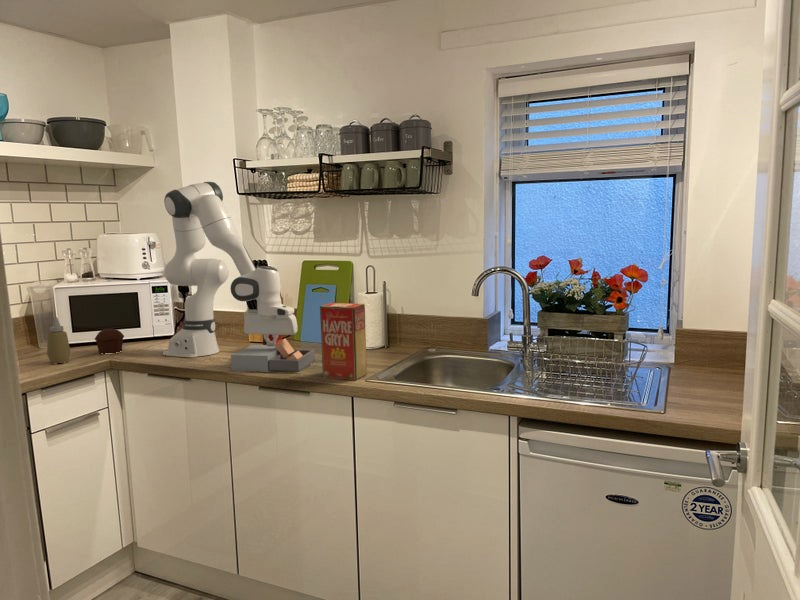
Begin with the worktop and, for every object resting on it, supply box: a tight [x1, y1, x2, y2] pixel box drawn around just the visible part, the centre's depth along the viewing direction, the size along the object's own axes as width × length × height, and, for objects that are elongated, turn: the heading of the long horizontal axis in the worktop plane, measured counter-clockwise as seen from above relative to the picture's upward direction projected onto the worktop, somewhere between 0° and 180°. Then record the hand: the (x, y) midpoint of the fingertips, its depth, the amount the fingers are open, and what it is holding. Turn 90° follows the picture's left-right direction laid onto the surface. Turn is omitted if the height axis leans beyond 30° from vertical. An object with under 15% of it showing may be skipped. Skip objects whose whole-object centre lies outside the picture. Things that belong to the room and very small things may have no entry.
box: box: [269, 349, 316, 373], centre depth 227 cm, size 11×18×4 cm, turn 169°
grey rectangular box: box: [230, 344, 280, 373], centre depth 230 cm, size 14×18×6 cm
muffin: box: [94, 327, 125, 354], centre depth 259 cm, size 12×11×10 cm
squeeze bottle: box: [46, 316, 72, 365], centre depth 240 cm, size 8×8×18 cm
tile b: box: [275, 338, 295, 358], centre depth 231 cm, size 6×6×2 cm
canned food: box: [261, 334, 283, 345], centre depth 257 cm, size 8×8×11 cm
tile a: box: [287, 349, 303, 360], centre depth 222 cm, size 6×6×2 cm
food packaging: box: [319, 302, 368, 381], centre depth 211 cm, size 13×9×25 cm
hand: (271, 346), depth 231 cm, fingers closed
